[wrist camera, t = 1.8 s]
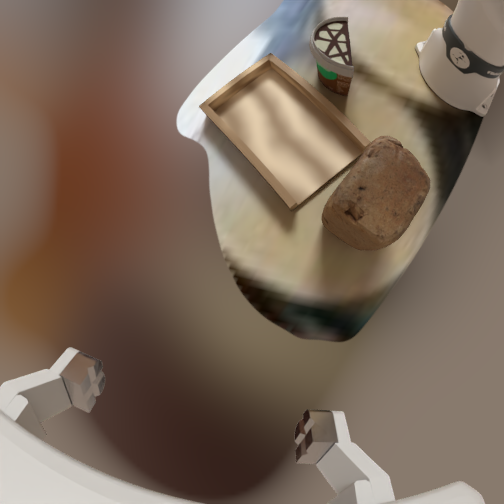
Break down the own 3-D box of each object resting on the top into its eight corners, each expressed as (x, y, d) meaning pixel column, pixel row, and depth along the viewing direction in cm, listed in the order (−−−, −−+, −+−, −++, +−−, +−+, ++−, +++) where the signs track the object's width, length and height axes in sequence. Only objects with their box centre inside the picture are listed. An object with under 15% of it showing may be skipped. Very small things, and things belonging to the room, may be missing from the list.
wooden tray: (273, 64, 41) (270, 53, 37) (366, 150, 38) (370, 142, 35) (206, 114, 44) (198, 106, 40) (291, 210, 41) (290, 207, 38)
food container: (311, 47, 39) (308, 12, 30) (344, 50, 38) (347, 15, 28) (310, 99, 40) (308, 65, 30) (347, 103, 39) (354, 69, 29)
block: (353, 254, 39) (390, 261, 20) (314, 221, 40) (317, 199, 21) (395, 199, 38) (455, 163, 18) (357, 167, 39) (390, 107, 19)
